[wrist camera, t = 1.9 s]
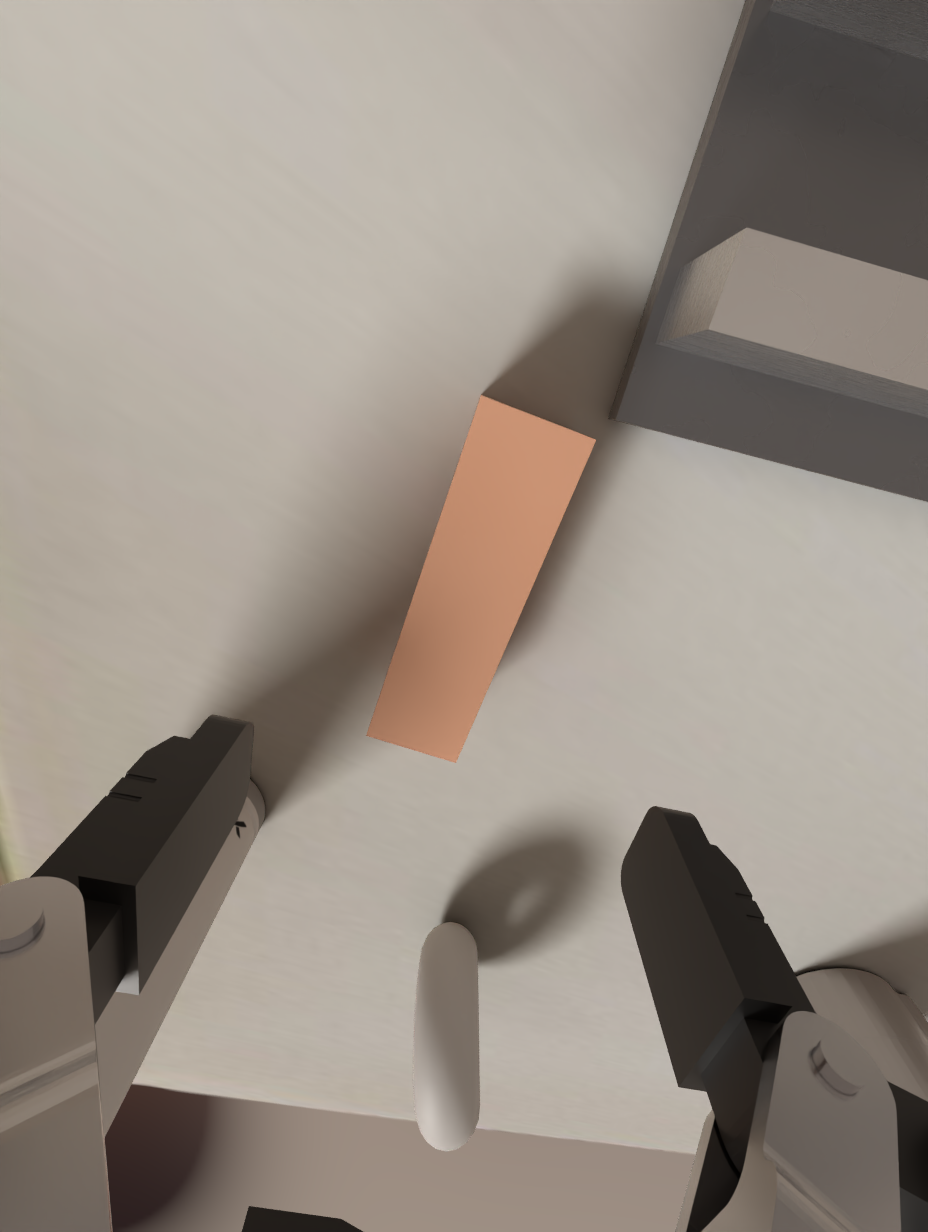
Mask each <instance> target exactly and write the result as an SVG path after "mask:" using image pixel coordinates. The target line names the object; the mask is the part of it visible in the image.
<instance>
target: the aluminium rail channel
mask: <svg viewBox="0 0 928 1232" xmlns="http://www.w3.org/2000/svg"><path fill="white" fill-rule="evenodd" d="M608 419H612V420H616V421H620V422H624V423H627V424H631V425H635V426H639V427H643V428H647V429H650V430H654V431H658V432H662V433H666V434H670V435H673V436H677V437H681V438H685V439H689V440H693V441H696V442H700V443H704V444H708V445H712V446H716V447H719V448H723V449H727V450H731V451H735V452H739V453H742V454H746V455H750V456H754V457H758V458H762V459H765V460H769V461H773V462H777V463H781V464H785V465H788V466H792V467H796V468H800V469H804V470H808V471H811V472H815V473H819V474H823V475H827V476H831V477H834V478H838V479H842V480H846V481H850V482H854V483H857V484H861V485H865V486H869V487H873V488H877V489H880V490H884V491H888V492H892V493H896V494H899V495H903V496H907V497H911V498H915V499H919V500H922V501H926V502H928V0H746V1H745V4H744V7H743V10H742V13H741V16H740V19H739V22H738V25H737V28H736V31H735V34H734V37H733V40H732V44H731V47H730V50H729V53H728V56H727V59H726V62H725V65H724V68H723V71H722V74H721V77H720V80H719V83H718V86H717V89H716V92H715V95H714V98H713V101H712V105H711V108H710V111H709V114H708V117H707V120H706V123H705V126H704V129H703V132H702V135H701V138H700V141H699V144H698V147H697V150H696V153H695V156H694V159H693V162H692V165H691V169H690V172H689V175H688V178H687V181H686V184H685V187H684V190H683V193H682V196H681V199H680V202H679V205H678V208H677V211H676V214H675V217H674V220H673V223H672V226H671V229H670V233H669V236H668V239H667V242H666V245H665V248H664V251H663V254H662V257H661V260H660V263H659V266H658V269H657V272H656V275H655V278H654V281H653V284H652V287H651V290H650V294H649V297H648V300H647V303H646V306H645V309H644V312H643V315H642V318H641V321H640V324H639V327H638V330H637V333H636V336H635V339H634V342H633V345H632V348H631V351H630V354H629V358H628V361H627V364H626V367H625V370H624V373H623V376H622V379H621V382H620V385H619V388H618V391H617V394H616V397H615V400H614V403H613V406H612V409H611V412H610V415H609V418H608Z"/></svg>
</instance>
